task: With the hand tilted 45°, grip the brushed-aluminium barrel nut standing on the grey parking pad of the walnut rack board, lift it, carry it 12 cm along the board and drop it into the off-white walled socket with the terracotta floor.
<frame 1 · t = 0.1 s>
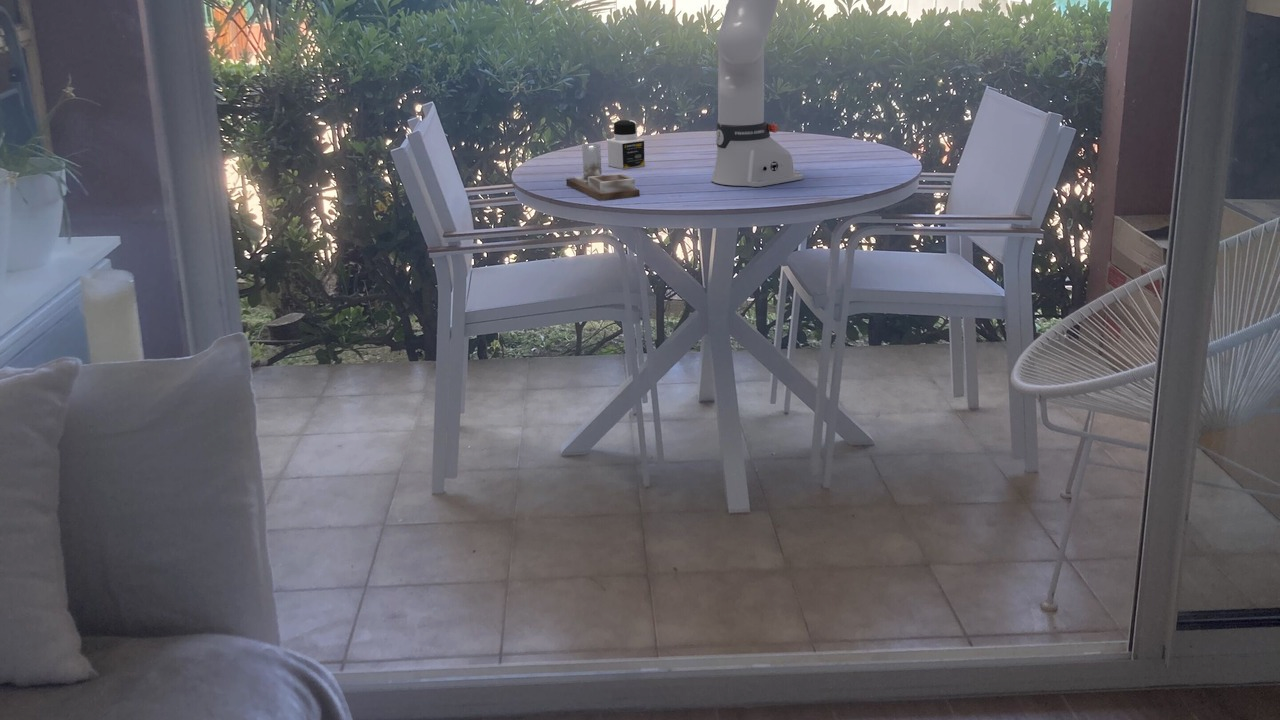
rack board: (602, 190, 273), on the table
aluminium barrel nut: (592, 178, 278), point 2 cm above the table, touching rack board
medicine bottle: (626, 167, 303), on the table
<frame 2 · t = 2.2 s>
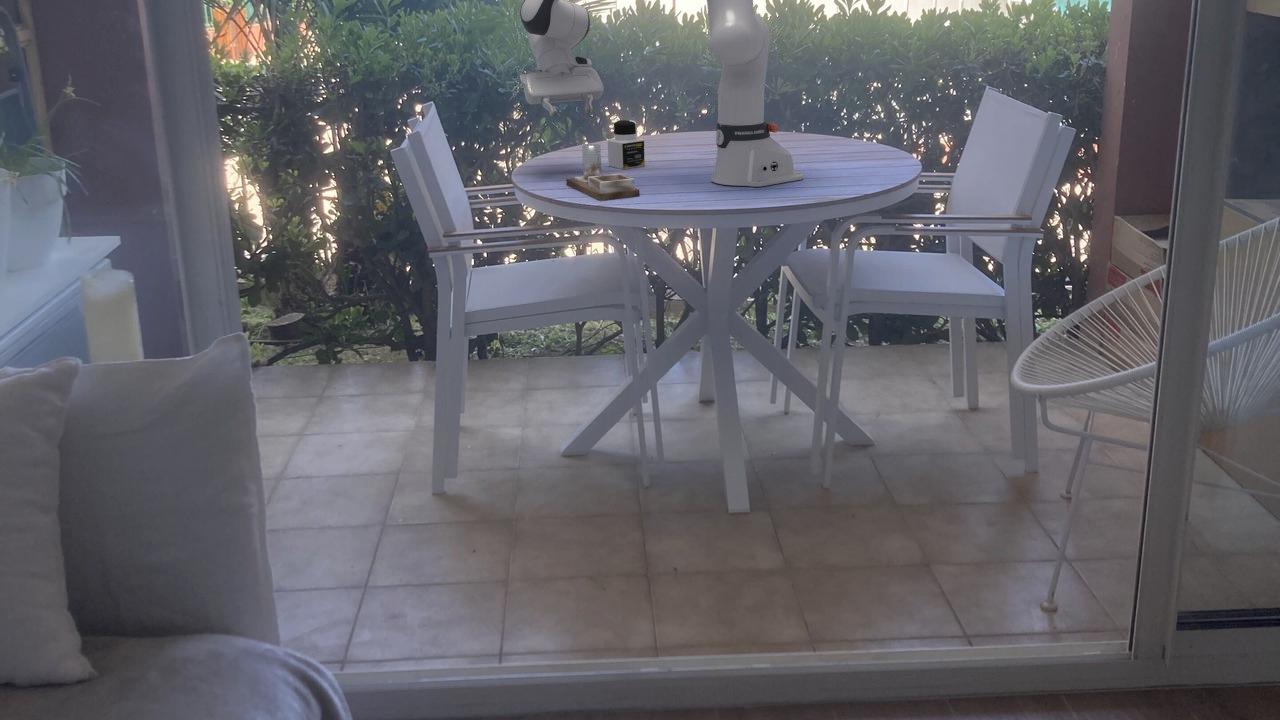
hand: (571, 112, 284), 16 cm above the table, tool tilted 45°, fingers open, 8 cm apart
nothing on the table moved.
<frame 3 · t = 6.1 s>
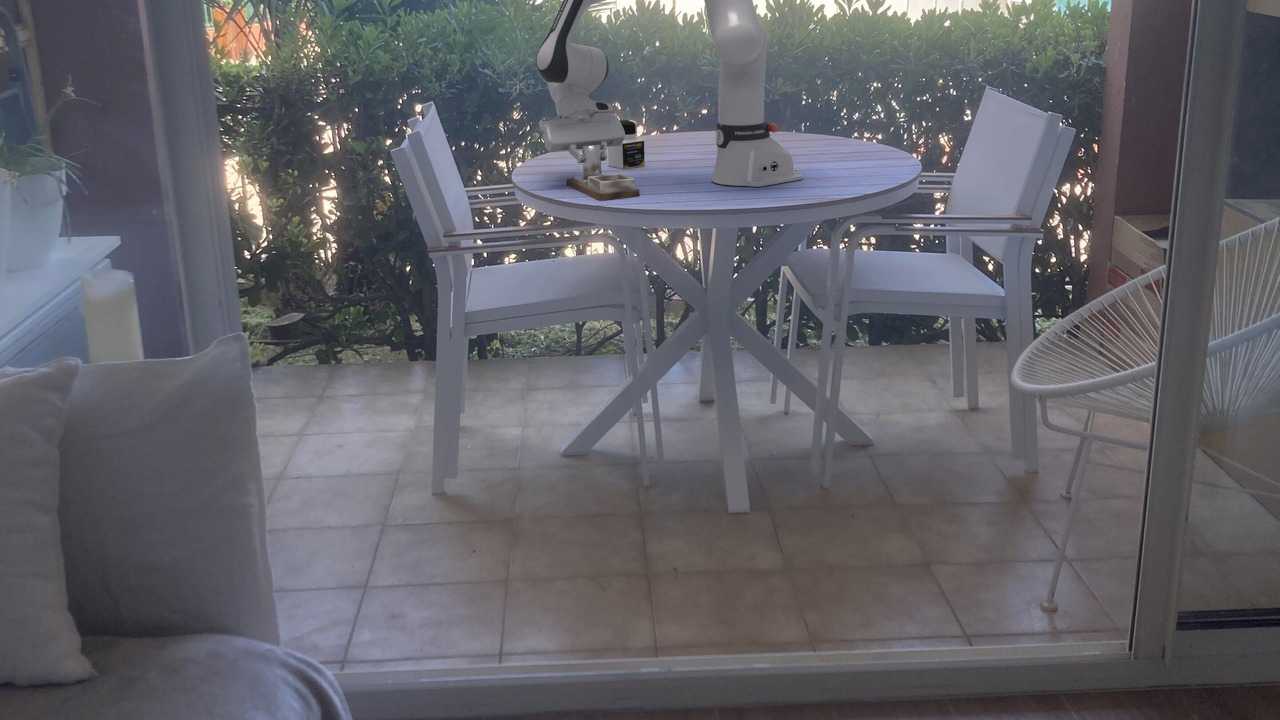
hand: (592, 160, 276), 6 cm above the table, tool tilted 45°, fingers closed on aluminium barrel nut, 4 cm apart
aluminium barrel nut: (592, 178, 278), point 2 cm above the table, touching gripper, rack board
everything else where it was.
when the fingers open (8 cm above the table, at t = 11.3 s): aluminium barrel nut drops 2 cm, resting on rack board.
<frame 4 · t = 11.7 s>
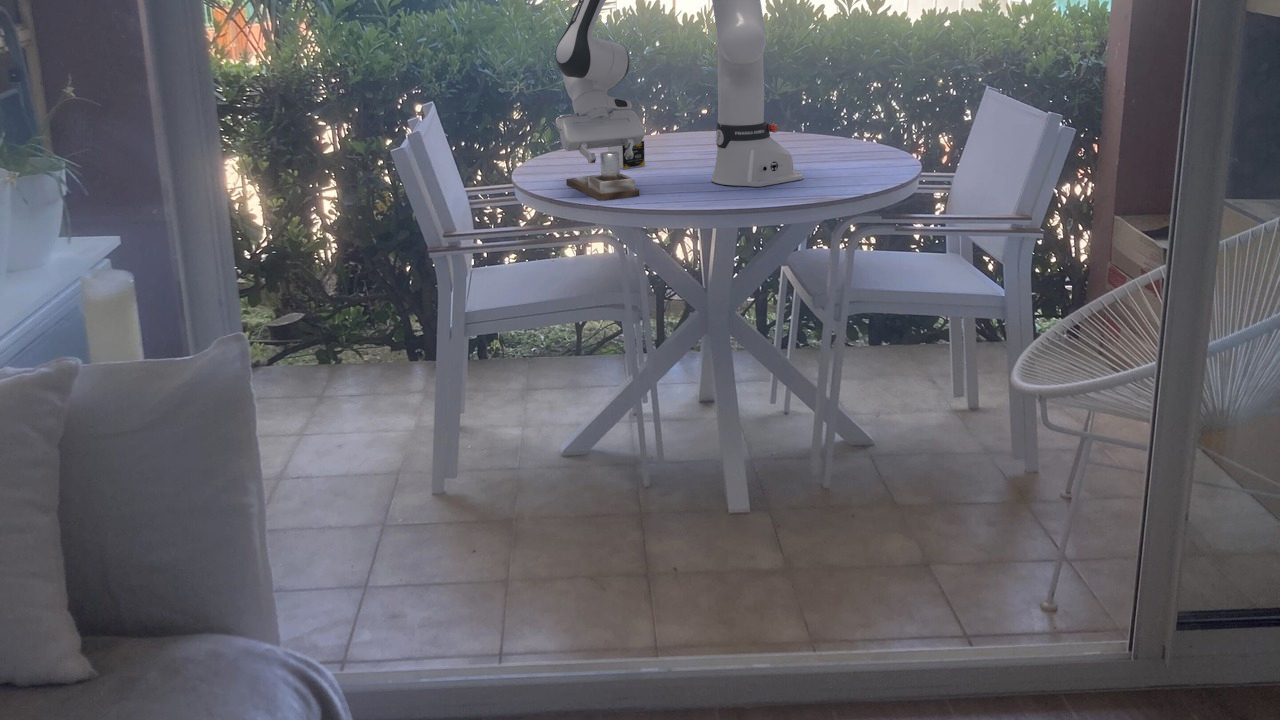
hand: (611, 159, 265), 8 cm above the table, tool tilted 45°, fingers open, 8 cm apart
aluminium barrel nut: (611, 187, 267), point 2 cm above the table, touching rack board
everything else where it was.
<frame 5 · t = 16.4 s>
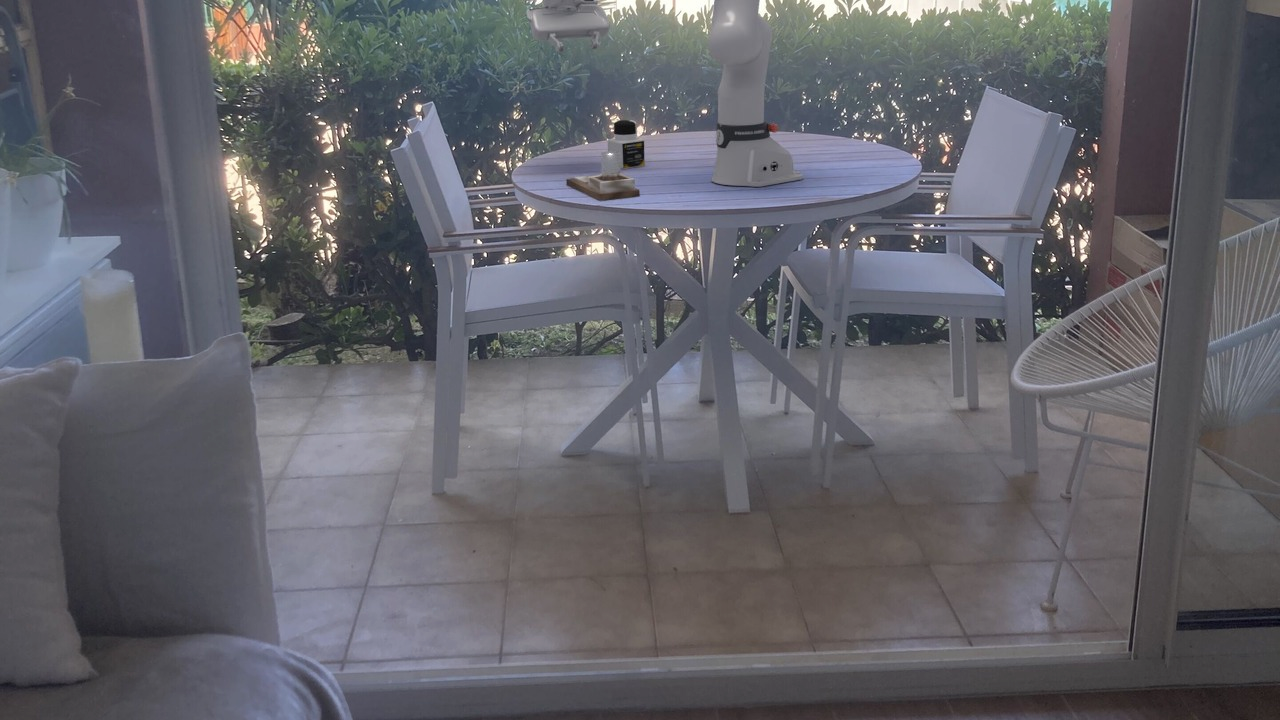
hand: (578, 48, 283), 31 cm above the table, tool tilted 45°, fingers open, 8 cm apart
nothing on the table moved.
at the end: aluminium barrel nut 0.1 cm from the target spot on the rack board, point 1.9 cm above the rack board's base; aluminium barrel nut tilted 2°; the gripper is holding nothing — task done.
